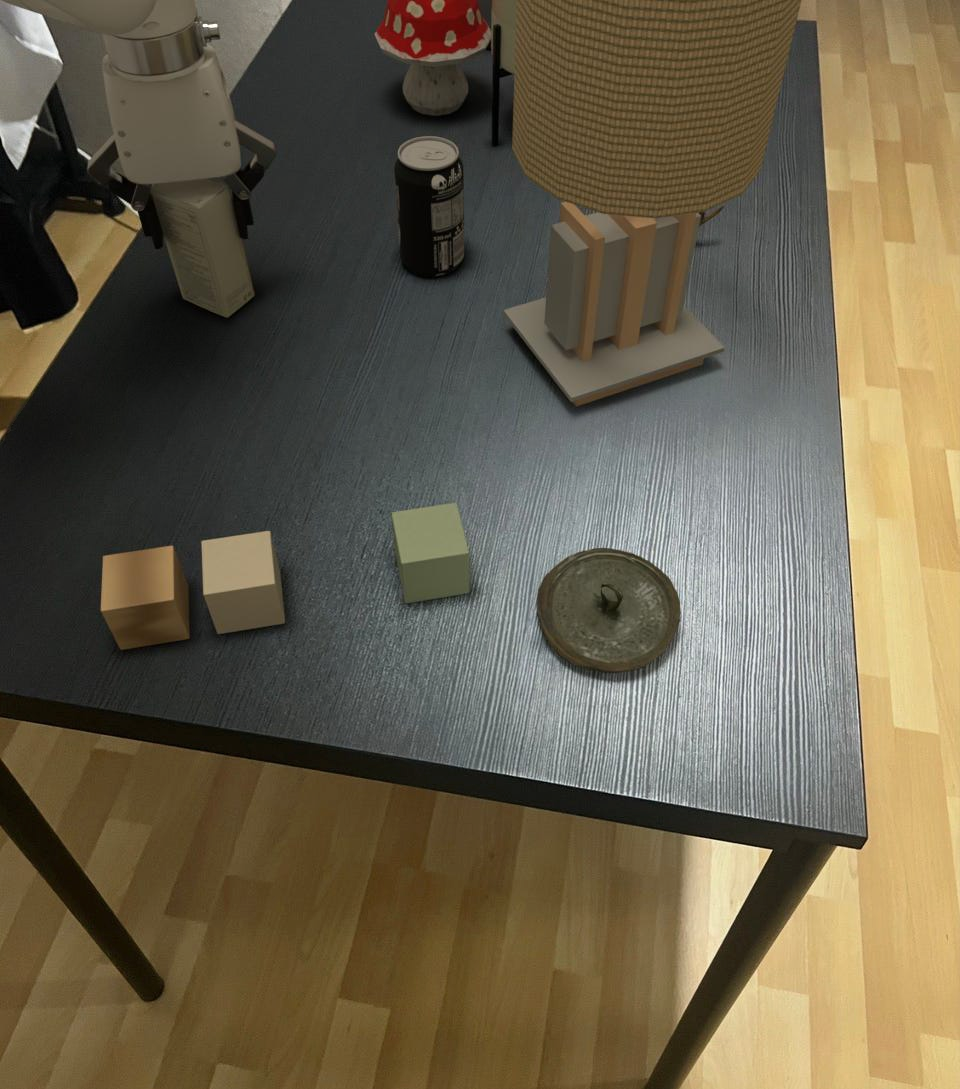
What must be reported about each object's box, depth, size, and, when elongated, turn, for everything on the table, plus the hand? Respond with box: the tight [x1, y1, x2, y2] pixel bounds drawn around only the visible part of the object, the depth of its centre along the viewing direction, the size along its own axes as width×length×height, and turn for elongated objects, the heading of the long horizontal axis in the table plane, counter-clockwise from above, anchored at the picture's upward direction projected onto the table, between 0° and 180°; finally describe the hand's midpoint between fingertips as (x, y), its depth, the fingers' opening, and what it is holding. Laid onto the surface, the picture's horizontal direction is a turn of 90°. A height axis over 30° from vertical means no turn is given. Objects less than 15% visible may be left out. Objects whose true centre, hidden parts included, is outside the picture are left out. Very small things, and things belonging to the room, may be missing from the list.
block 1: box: [100, 545, 191, 651], centre depth 73 cm, size 5×5×5 cm
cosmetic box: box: [150, 178, 255, 319], centre depth 94 cm, size 6×4×12 cm
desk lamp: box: [502, 0, 802, 407], centre depth 80 cm, size 20×20×35 cm
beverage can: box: [393, 135, 465, 277], centre depth 98 cm, size 7×7×12 cm
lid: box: [535, 547, 682, 674], centre depth 73 cm, size 11×10×5 cm
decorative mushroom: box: [374, 0, 491, 117], centre depth 117 cm, size 14×14×15 cm
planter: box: [490, 0, 517, 147], centre depth 110 cm, size 15×16×23 cm
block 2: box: [200, 530, 286, 635], centre depth 73 cm, size 5×5×5 cm
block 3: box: [390, 502, 471, 604], centre depth 75 cm, size 5×5×5 cm
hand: (201, 234), depth 93 cm, fingers closed on cosmetic box, 7 cm apart
